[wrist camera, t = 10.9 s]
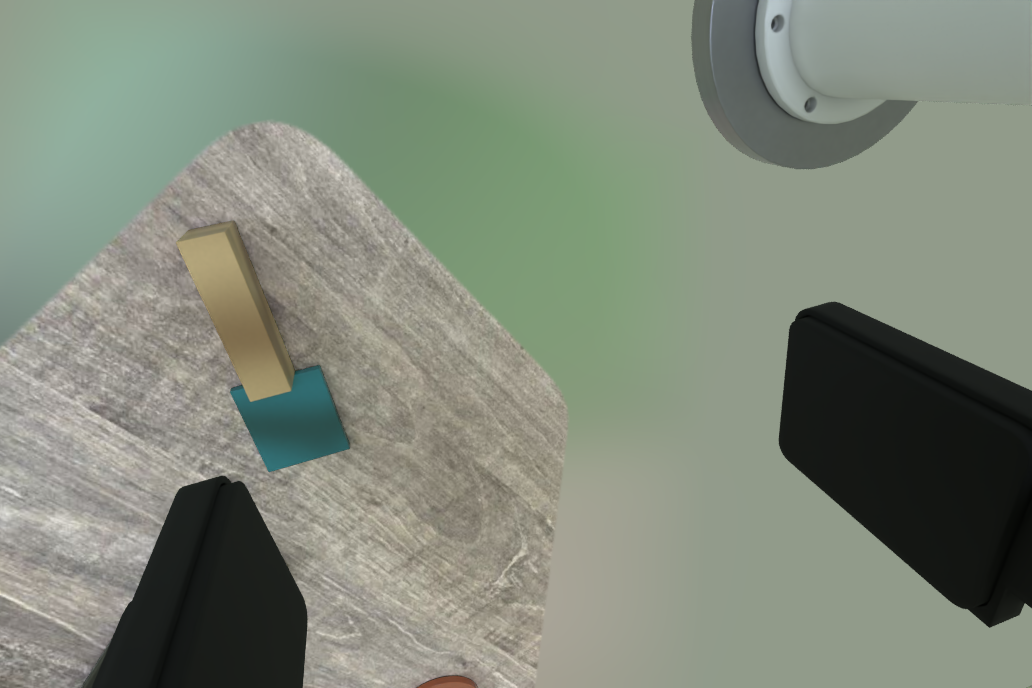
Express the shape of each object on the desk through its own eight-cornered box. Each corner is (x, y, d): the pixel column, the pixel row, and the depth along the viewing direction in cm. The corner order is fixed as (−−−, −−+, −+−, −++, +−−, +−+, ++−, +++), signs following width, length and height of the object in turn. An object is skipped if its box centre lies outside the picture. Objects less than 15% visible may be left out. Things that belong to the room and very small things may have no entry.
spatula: (158, 236, 27) (142, 249, 25) (262, 213, 28) (255, 225, 26) (269, 467, 34) (264, 493, 32) (350, 444, 35) (350, 467, 33)
